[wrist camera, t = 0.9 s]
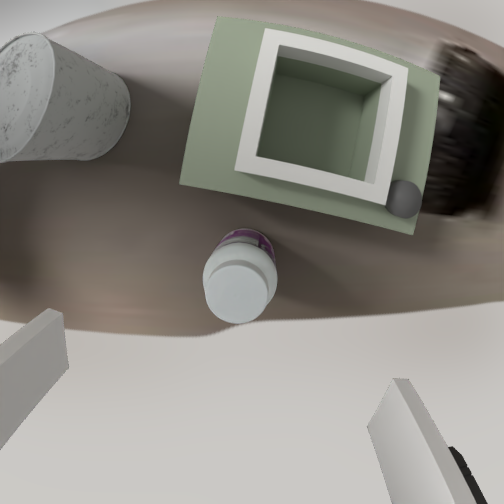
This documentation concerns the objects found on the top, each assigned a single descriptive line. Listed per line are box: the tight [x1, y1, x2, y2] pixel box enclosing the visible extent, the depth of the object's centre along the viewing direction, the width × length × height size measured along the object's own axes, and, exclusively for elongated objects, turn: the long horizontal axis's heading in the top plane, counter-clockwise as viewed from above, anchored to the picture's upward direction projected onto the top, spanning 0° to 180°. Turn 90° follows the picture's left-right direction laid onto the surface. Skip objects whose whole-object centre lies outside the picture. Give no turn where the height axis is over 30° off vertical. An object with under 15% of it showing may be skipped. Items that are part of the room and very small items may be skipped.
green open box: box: [179, 16, 440, 235], centre depth 21 cm, size 16×12×10 cm
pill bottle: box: [203, 229, 278, 324], centre depth 24 cm, size 5×5×10 cm
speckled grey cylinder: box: [0, 32, 131, 163], centre depth 20 cm, size 10×10×12 cm
